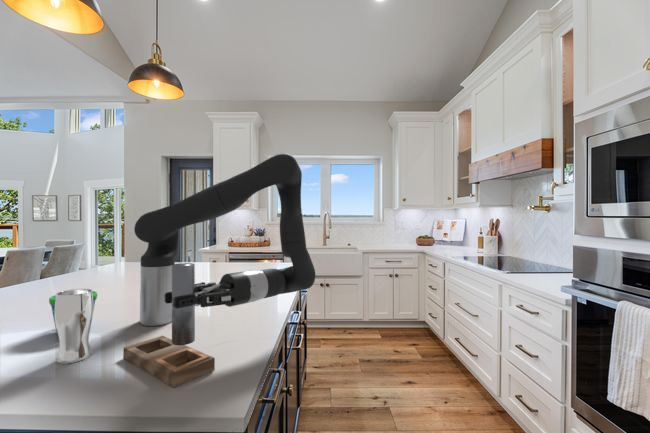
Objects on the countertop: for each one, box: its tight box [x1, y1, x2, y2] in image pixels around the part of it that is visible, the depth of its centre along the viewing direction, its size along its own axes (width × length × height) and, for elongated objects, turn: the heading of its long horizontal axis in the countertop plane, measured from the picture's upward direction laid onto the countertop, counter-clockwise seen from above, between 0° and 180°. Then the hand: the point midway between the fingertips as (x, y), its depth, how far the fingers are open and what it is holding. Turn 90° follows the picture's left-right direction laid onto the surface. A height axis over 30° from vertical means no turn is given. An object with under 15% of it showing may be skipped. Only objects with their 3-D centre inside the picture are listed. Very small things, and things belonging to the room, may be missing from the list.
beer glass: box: [54, 288, 94, 365], centre depth 74 cm, size 7×7×15 cm
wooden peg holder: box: [122, 335, 216, 388], centre depth 71 cm, size 21×9×3 cm, turn 54°
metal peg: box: [171, 262, 196, 346], centre depth 68 cm, size 4×4×16 cm
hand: (169, 300), depth 66 cm, fingers closed on metal peg, 4 cm apart
